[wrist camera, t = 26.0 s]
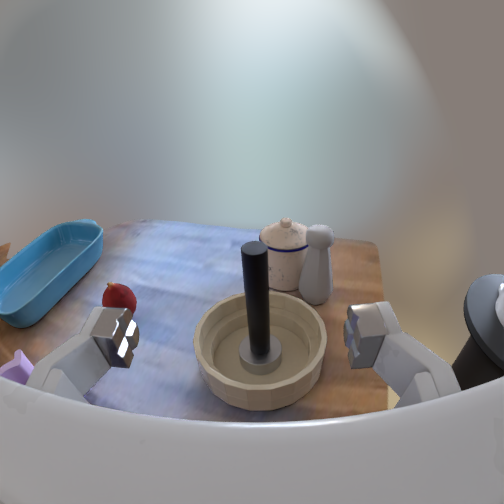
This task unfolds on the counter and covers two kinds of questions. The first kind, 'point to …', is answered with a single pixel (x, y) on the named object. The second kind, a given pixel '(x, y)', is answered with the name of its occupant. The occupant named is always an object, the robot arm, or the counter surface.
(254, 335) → the black tall cylinder post
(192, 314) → the counter surface
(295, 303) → the bowl
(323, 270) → the salt shaker
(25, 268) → the casserole dish
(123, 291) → the onion
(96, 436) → the robot arm
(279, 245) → the teacup with lid
